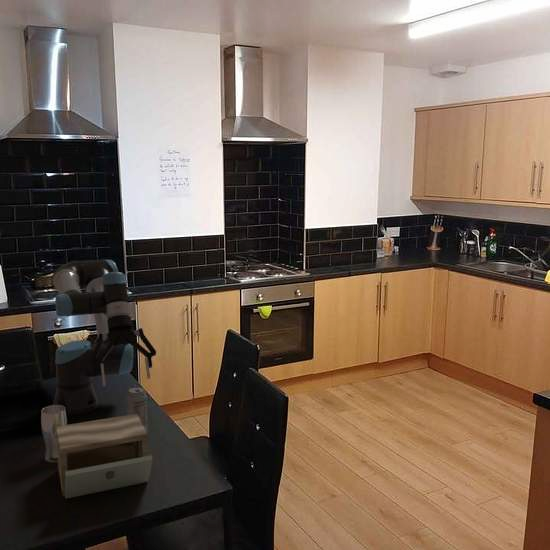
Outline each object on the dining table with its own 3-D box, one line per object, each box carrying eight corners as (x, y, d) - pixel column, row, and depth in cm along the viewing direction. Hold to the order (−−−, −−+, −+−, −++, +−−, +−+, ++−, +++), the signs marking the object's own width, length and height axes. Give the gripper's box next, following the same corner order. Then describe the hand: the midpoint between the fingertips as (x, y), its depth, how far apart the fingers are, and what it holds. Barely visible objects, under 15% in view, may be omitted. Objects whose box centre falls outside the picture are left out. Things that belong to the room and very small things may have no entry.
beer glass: (44, 465, 165) (41, 416, 162) (42, 454, 171) (39, 407, 168) (70, 460, 168) (67, 411, 165) (66, 450, 174) (64, 403, 171)
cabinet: (58, 473, 161) (56, 426, 158) (138, 458, 170) (137, 413, 167) (62, 499, 148) (60, 448, 146) (148, 482, 157) (147, 433, 155)
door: (64, 494, 147) (65, 471, 140) (147, 477, 156) (151, 455, 148) (65, 502, 146) (66, 479, 138) (148, 485, 155) (153, 462, 147)
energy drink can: (141, 428, 189) (140, 385, 187) (151, 435, 185) (149, 390, 182) (124, 433, 185) (123, 389, 183) (133, 440, 181) (132, 395, 178)
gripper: (77, 319, 181) (84, 385, 173) (158, 309, 188) (167, 372, 181) (79, 326, 187) (85, 390, 180) (157, 316, 195) (166, 378, 187)
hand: (126, 381), depth 180 cm, fingers open, 13 cm apart
